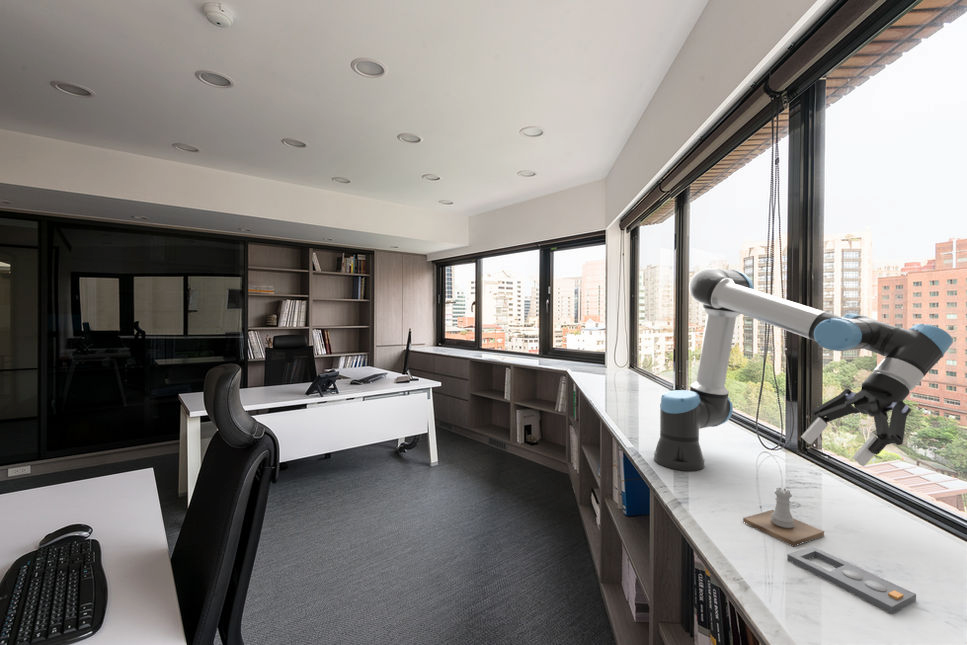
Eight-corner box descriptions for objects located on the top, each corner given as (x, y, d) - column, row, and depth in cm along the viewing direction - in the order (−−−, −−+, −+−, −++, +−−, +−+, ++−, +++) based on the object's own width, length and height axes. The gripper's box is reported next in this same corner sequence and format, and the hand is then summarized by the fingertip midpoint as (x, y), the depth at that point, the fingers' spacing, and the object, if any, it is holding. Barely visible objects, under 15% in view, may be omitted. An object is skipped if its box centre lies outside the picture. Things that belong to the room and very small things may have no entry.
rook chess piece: (788, 531, 91) (788, 495, 91) (766, 522, 95) (767, 488, 95) (798, 526, 93) (799, 491, 93) (777, 517, 97) (777, 484, 97)
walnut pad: (743, 522, 97) (743, 517, 97) (772, 513, 101) (772, 509, 101) (793, 546, 87) (793, 541, 87) (823, 535, 91) (824, 531, 91)
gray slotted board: (787, 560, 82) (787, 552, 82) (811, 551, 85) (811, 543, 85) (891, 613, 67) (892, 604, 67) (915, 600, 71) (916, 591, 71)
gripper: (967, 406, 83) (897, 484, 83) (851, 382, 108) (797, 442, 108) (942, 382, 82) (871, 461, 83) (831, 363, 107) (777, 424, 108)
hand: (829, 450), depth 95 cm, fingers open, 13 cm apart
